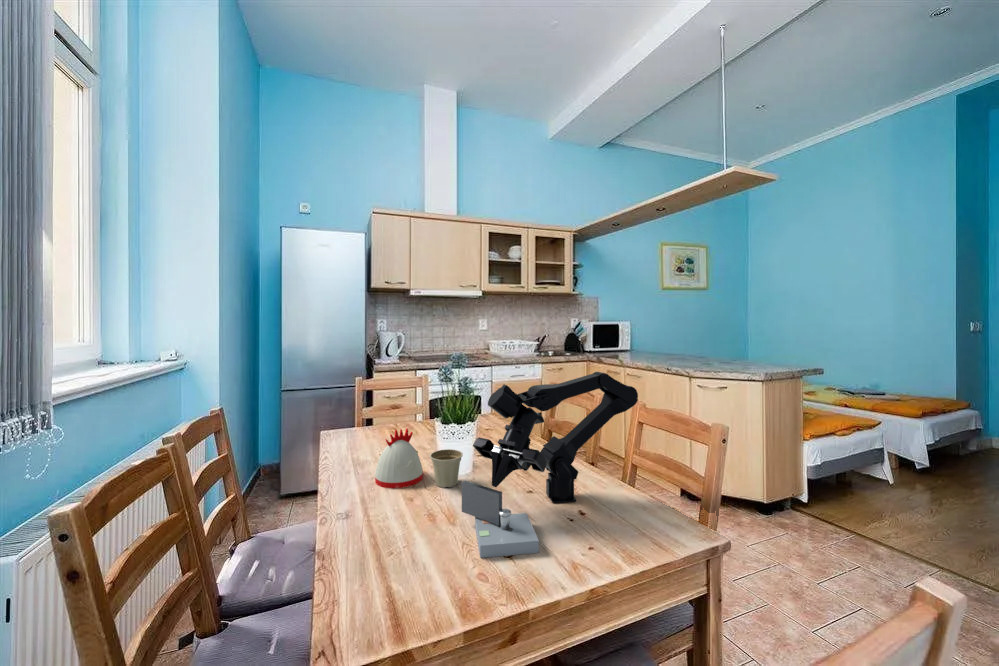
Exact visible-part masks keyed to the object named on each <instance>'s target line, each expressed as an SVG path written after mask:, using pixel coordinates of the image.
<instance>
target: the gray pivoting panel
mask: <svg viewBox="0 0 999 666" xmlns="http://www.w3.org/2000/svg"><path fill="white" fill-rule="evenodd" d="M461 512H462V513H465V514H466V515H469V516H472V517H474V518H475V517H477V518H480V519H482V520H485V521H488V522H491V523H493V524H496V525H500V527H501V528H502V529H508V528H509V527H510V515H511V514H512V510H510V509H509V508H503V491H501V490H497V489H493V488H490V487H487V486H484V485H481V484H477V483H475V482H472V481H468V480H463V481H461Z"/></svg>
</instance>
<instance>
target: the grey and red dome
mask: <svg viewBox="0 0 999 666" xmlns="http://www.w3.org/2000/svg"><path fill="white" fill-rule="evenodd" d="M389 437H390V439H391V440H390V441H389V440H388V439H387V438H385V442H386V444H387V445H386V447H385V448H384V449H383V451H382V452H381V454H380V456H379V458H378V462H377V464H376V468H375V474H374V477H375V478H374V481H375V484H376V485H377V487H381V488H384V489H403V487H404V488H409V487H411V486H412V487H413V486H414V485H417V484H419V483H420V482H421V481H422V480H423V478H424V473H423V472H424V471H423V466H422V462H421V458H420V456H419V451H418V450H416V448H415V447H414V446H413V445H412V444H411V443H410V441H411V438H412V437H413V431H410V433H409V429H408V428H406V429H405V432H404V433H403V430H402V429H401V428H399V432H398V430H397V429H394V436H393V434H391V433H390V434H389Z"/></svg>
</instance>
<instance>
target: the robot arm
mask: <svg viewBox="0 0 999 666" xmlns="http://www.w3.org/2000/svg"><path fill="white" fill-rule="evenodd" d="M596 390H600V391H601V392H602V393H603V395H602V398H601V402H600V403H599V404H598V405H597V406H596V407H595V408H593V410H592V411H591V412H590V413H588V414H587V416H585V417H584V418H583V419H582V420H581V421H580V422H578V424H577V425H575V427H574V428H572V429H571V430H570V431H569V432H568V433H567V434H566V435H565V436H563V437H561V438H558V437H557V436H555V435H553V436H552V437H551V438H550V439H549V440H548V441H547V442H546V443H544V444H543V445H542V449H541V450H539V449H534V448H530V444H531V438H530V435H532V432H533V428H535V427H534V426H535V425H538V424H544V423H545V419H544V417H543V415H542V413H541V412H547V411H549V410H551V409H553V408H555V407H558V406H559V405H560V404H561V403H562V402H563V401H565V400H567V399H570V398H573V397H576V396H580V395H584V394H586V393H590V392H594V391H596ZM638 398H639V393H638V390H637V389H636V388H635V387H633V386H632V385H627V384H624V383H622V382H621V381H619V380H617V379H615V378H614V377H612V376H611V375H609V374H608V373H605V372H601V371H594V372H593V373H591V374H587V375H583V376H581V377H577V378H574V379H573V378H572V379H570V380H567V381H564V382H560V383H555V384H553V383H552V384H550V383H548V384H547V383H546V384H536V385H535V384H534V385H531V386H530V387H529V388H528V390H526V391H523V392H520V393H518V394H517V393H516V392H514V391H513V389H511V387H510V386H508V385H507V384H502V386H501V387H500V388H498V389H497V390H495V391H494V392H492V394H491V395H490V397H489V399H488V400H487V401H488V402H487V406H488V407H490V408H491V409H493V410H494V411H495V412H496V413H497V414H498V415H500V416H501V417H503V418H504V419H508V418H512V419H511V421H510V423H509V424H505V426H504V429H505V431H506V432H505V433H504V436H503V437H502V438H499V439H498V440H497V443H498V445H495V444H494V443H493V441H492V440H491V439H489V438H485V437H477V438H476V439H475V440H474V442H473V444H472V447H473V448H474V449H475V450H476V452H478V453H479V455H480V456H481V457H483V458H484V459H485V458H486V459H489V460H491V467H492V468H491V486H492V487H493V488H497V487H498V486H499V485H501V483H502V482H503V481H504V480H505V479H506V478H507V477H508V476H509V475H511V473H512V472H514V471H517V470H523V471H524V472H527V471H529V469H530V467H531V468H532V470H533V471H536V472H540V473H544V472H545V470H546V471H548V473H547V478H546V480H545V483H546V484H545V488H546V489H545V491H546V492H545V494H546V495H547V497H548V498H549V500H550V501H551V503H552V504H557V503H559V504H561V503H562V504H563V503H574V502H577V498H576V497H575V480H577V478H578V474H579V470H578V469H576V467H574V466H573V463H574V461H575V459H576V456H577V452H578V451H579V450H580V449H581V448H582V447H583V446H584V445H585V444H586V443H587V442H588V441H589V440H590V439H591V438H592V437H593V436H595V434H596V433H598V431H599V430H601V429H602V428H603V427H604V426H605V425H606V424H607V423H608V422H609V421H610V420H611V419H612V418H613V417H615V416H616V415H619V414H622V413H625V412H627V411H628V410H630V409H632V408H633V407H634V406H635V405H636V404H637V403H638V402H639V399H638ZM526 406H527V407H526ZM533 408H535V409H536V410H539V411H541V412H537V411H535V410H534V409H533Z"/></svg>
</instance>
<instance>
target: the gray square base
mask: <svg viewBox="0 0 999 666" xmlns="http://www.w3.org/2000/svg"><path fill="white" fill-rule="evenodd" d="M474 529H475V534H476V535H475V536H476V540H477V546H478V552H479V558H480V559H483V558H495V557H497V558H498V557H507V556H517V555H528V554H529V555H530V554H539V553H540V541H539V538H538V535H537V534H536V530H535V529H534V526H533V525H532V522H531V520H530V518H529V516H528V513H527V512H522V513H521V512H520V513H519V512H518V513H511V515H510V527H509V528H508V529H502V528H501V527H500V525H496V524H493V523H491V522H488V521H485V520H482V519H480V518H477V517H474Z"/></svg>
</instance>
